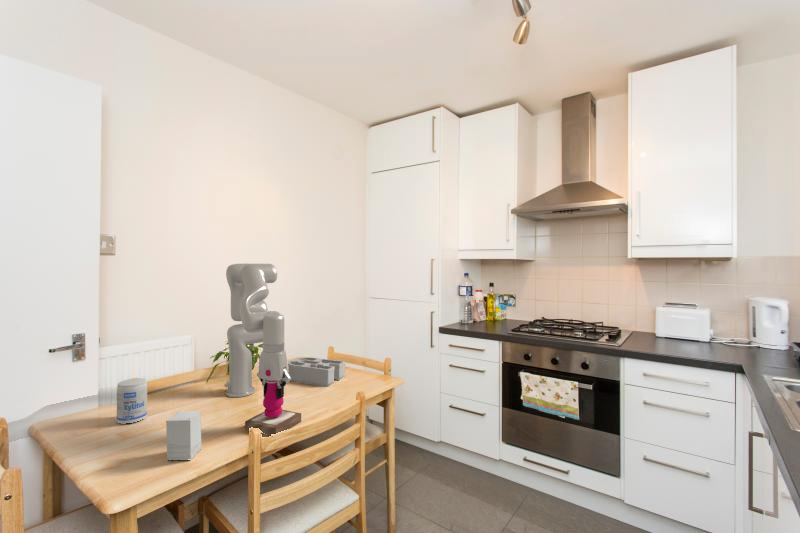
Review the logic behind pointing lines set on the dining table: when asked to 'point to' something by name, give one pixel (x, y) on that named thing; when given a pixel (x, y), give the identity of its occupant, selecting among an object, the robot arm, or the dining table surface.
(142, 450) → the dining table surface
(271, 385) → the pepper mill
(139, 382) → the supplement tub
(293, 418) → the base
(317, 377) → the grey hollow block
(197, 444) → the supplement box
